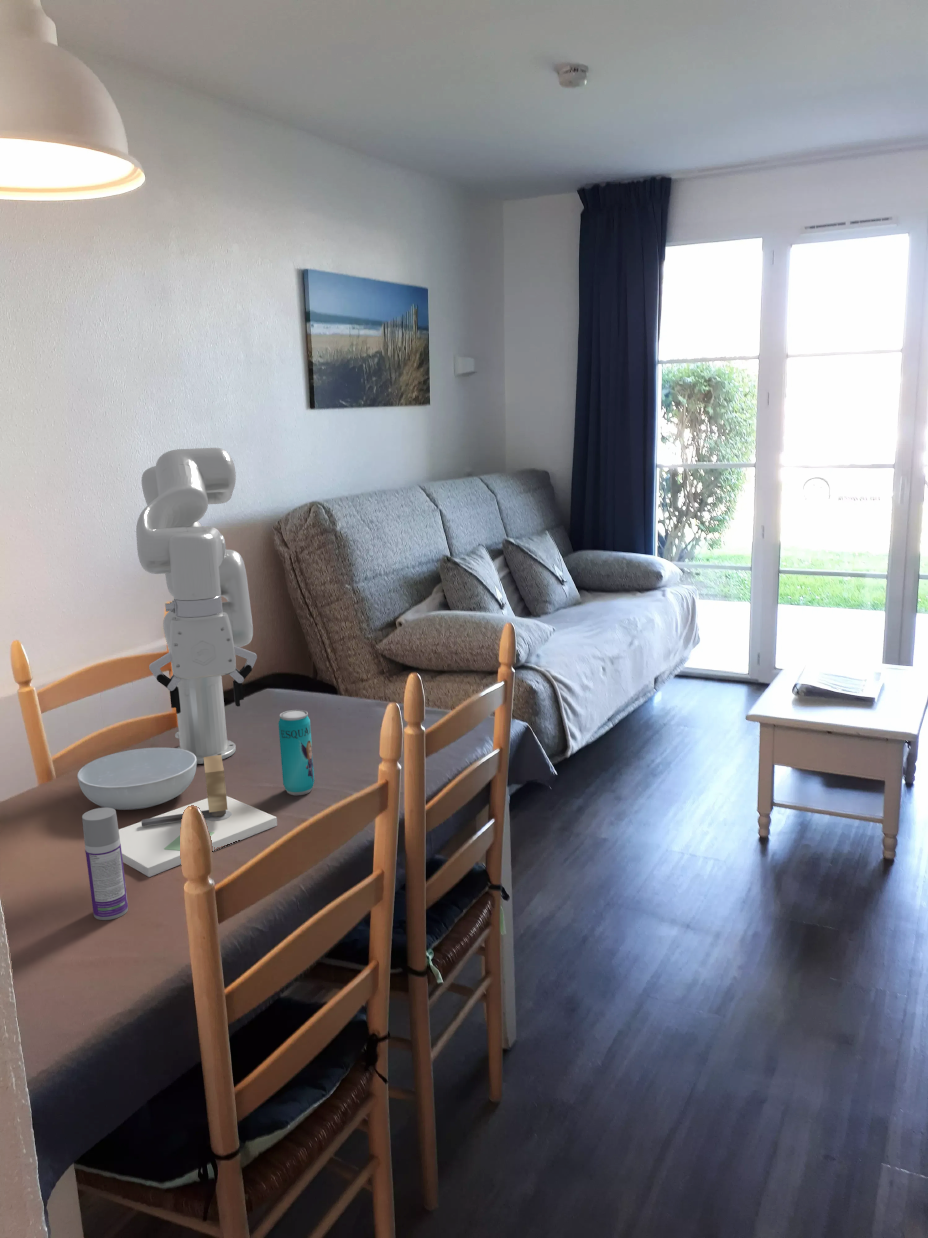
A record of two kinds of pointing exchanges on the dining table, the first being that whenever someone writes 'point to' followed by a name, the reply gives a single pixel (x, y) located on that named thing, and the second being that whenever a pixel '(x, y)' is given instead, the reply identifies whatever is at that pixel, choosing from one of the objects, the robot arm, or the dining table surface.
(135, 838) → the dial board
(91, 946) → the dining table surface
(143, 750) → the serving bowl
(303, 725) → the beverage can
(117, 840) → the container
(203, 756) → the robot arm
